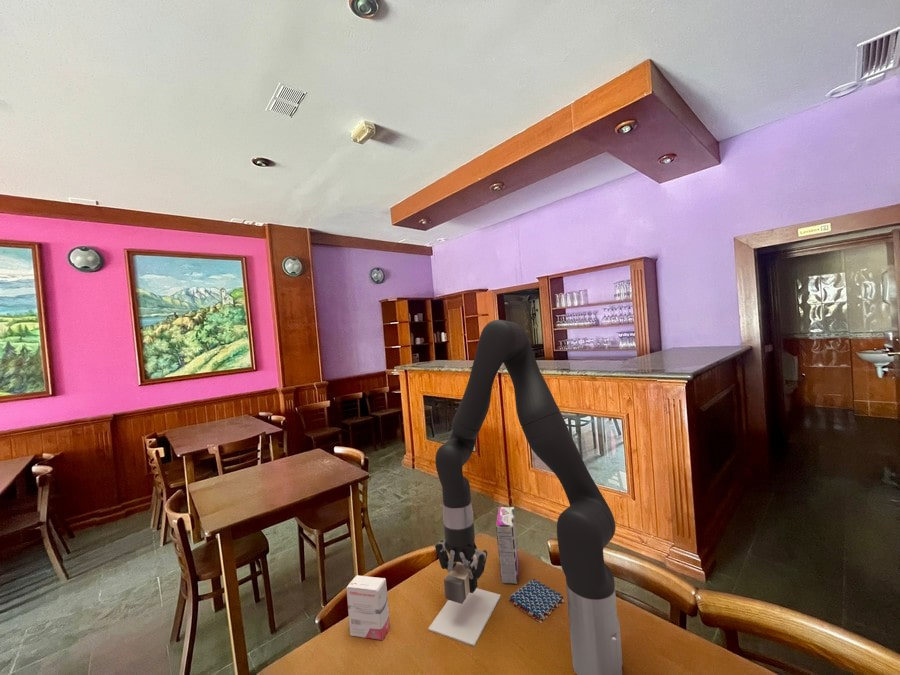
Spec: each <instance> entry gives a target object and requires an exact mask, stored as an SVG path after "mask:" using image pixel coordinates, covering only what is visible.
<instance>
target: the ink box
mask: <svg viewBox="0 0 900 675" xmlns="http://www.w3.org/2000/svg"><path fill="white" fill-rule="evenodd" d="M387 587H388V586H387V578H385V577H374V576H366V575H355V576H354V577H353V579H352V580H350V582H349V583H348V585H347V586H346V600H347V612H348V613H347V614H348V624H349V635H350V637H358V638H366V639H372V640H378V641H382V640H384V638H385V637H386V635H387V633H388V632H389V629H390V627H391V621H390V620H391V619H390V611H389V609H390V608H389V598H388V589H387Z"/></svg>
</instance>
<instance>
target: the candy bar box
mask: <svg viewBox="0 0 900 675" xmlns="http://www.w3.org/2000/svg"><path fill="white" fill-rule="evenodd" d="M495 529H496V540H497V549H498V559H499V561H498V562H499V571H500V572H499V573H500V582H501V584H505V585H507V584H508V585H509V584H510V585H518V584H519V567H520V566H519V564H520V562H519V561H520V558H519V549H518V548H519V547H518V536H517V527H516V516H515V507H514V506H498V510H497V517H496V524H495ZM517 550H518V551H517Z"/></svg>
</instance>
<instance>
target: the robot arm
mask: <svg viewBox="0 0 900 675" xmlns="http://www.w3.org/2000/svg"><path fill="white" fill-rule="evenodd" d="M475 350H476V351H475V355H474V358H473V363H472V367H471V371H470V372H469V373H470V374H469V377H468V381H467V385H466V387H465V390H464V393H463V395H462V398H461V400H460V403H459V405H458V407H457V409H456V411H455V415H454V417H453V420H452V422H451V430H452V432H451V434H450V437H449V439H448V440H447V441H446V442H445V443H443V444H442V445H440V446H439V448H438V449H437V451H436V453H435V461H434V463H435V464H434V465H435V469H436V473H437V476H438V478H439V482H440V485H441V488H442V489H441V492H442V504H443V506H442V507H443V508H442V518H443V531H444V541H443V540H440V541H439V542H438V543H437V544H436V545H435V551H436V555H437V557H438V558H437V559H438V561H439V564H440V568H442V569H443V570H447V571H446V572H447V573H448V574H449V573H450V572H451V570H452V569H453V568H454V567H455V565H456V564H457V563H458V562H461V563H462V564H464V567H465V570H467V572H468V575H469V587H470V593H473V592H474V591H475V590H476V588H478V580H477V578H479V579H480V578H481V577H482V574H483V573H484V571H485V567H486V561H487V557H488V551H487V550H485V549H484V550H480V549H478V547H477V545H476V541H475V539H476V537H475V536H476V535H475V524H474V521H475V520H474V511H473V505H472V496H471V495H472V494H471V486H470V481H469V479H468V478H467V477H466V476H464V472H463V466H465V464H467V463H468V461H469V460H470V458H471V456H472V454H473V452H474V450H475V446H476V441H477V438H478V435H479V433H480V431H481V429H482V427H483V424H484V422H485V420H486V418H487V414H488V413H489V409H490V405H491V399H492V390H493V386H494V381H495V379H496V376H497V374H498V372H499V370H500V368H501V367H502V365H504V367H505V368H506V370H507V371H506V372H508V373H507V374H508V376H510V380H511V382H512V386H513V389H514V390H513V391H514V401H515V408H516V415H517V418H518V422H519V424H520V426H521V429H522V432H523V434H524V436H525V439H526V441H527V443H528V446H529V447H530V449H531V450H532V452H533V453H534V454H535V456H536V457H538V458H539V460H540V461H541V462H542V463H543V464H545V465H546V466H547V467H548V468H549V469H550V470H551V471H552V472H553V474H554V475H555V476H556V477H557V479H558V480H559V482H560V484H561V486H562V488H563V491H564V493H565V496H566V498H567V500H568V504H569V506H568V507H566V508H565V509H564V510H563V511H562V512H560V514H559V515H558V517H557V521H556V538H557V545H558V547H557V548H558V554H559V561H560V567H561V569H562V572H563V574H564V576H565V584H566V596H567V599H566V600H567V607H568V608H567V609H568V611H567V612H568V623H569V624H568V625H569V635H570V647H571V659H572V661H571V663H572V669H573V671H574V673H576V674H577V675H623V669H622V665H624V664H623V653H622V652H623V651H622V640H621V628H620V627H621V626H620V619H619V618H618V610H617V598H616V584H615V583H616V582H615V576H614V572H613V571H612V569H611V568H610V567H609V566H608V565H607V564H606V563H605V558H604V549H605V547H606V546H607V545H608V544H609V543H610V542H611V540H612V539H613V538H614V536H615V533H616V528H617V527H616V520H615V517H614V514H613V512H612V510H611V508H610V506H609V504H608V502H607V500H606V498H605V497H604V495H603V494H602V492H601V491H600V489H599V487H598V486H597V484H596V482H595V481H594V479H593V477H592V476H591V473H590V472H589V469H587V466H586V464H585V462H584V459H583V458H582V457H583V456H581V454H580V452H579V449H578V447H577V445H576V443H575V441H574V438H573V437H572V434H571V433H570V429H569V428H568V425H567V423H566V420H565V418H564V416H563V414H562V411H561V410H560V408H559V406H558V404H557V403H556V402H557V401H556V400H555V398H554V397H553V393H552V392H551V390H550V388H549V386H548V384H547V382H546V380H545V378H544V376H543V374H542V372H541V370H540V367H539V365H538V363H537V360H536V357H535V354H534V351H533V348H532V344H531V342H530V340H529V336H528V334H527V332H526V330H525V329H524V328H523V327H522V326H521V325H520V324H518V323H516V322H514V321H508V320H504V319H494V320H491V321H490V322H488V323H487V324H486V325H485V326H483V328H482V330H481V332H480V335H479V339H478V342H477V347H476V349H475ZM448 554H449V555H448ZM474 554H475V555H476V557H477V561H478V564H477V569H476V566H475V559H474ZM576 674H575V675H576Z"/></svg>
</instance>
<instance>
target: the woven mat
mask: <svg viewBox="0 0 900 675" xmlns="http://www.w3.org/2000/svg"><path fill="white" fill-rule="evenodd" d="M550 588H551V586H546V584H545V583H541V581H539V580H538V581H537V580H536V578H533V579H532V580H528V583H525V584H524V585H523V586H521V588H518V589H517V590H516V592H515V591H514V592H513V593H512V594H510V597H509V599H508V602H509V603H510V604H512V605H513V607H517V609H519V610H520V611H522V612H524V613H525V614H526V615H527V616H529V617H530V618H532V619H533V620H535V621H537V622H539V623H540V624H542V623H543V621H544V620H545V619H548V617H549V616H550V615H551V613H553V611H555V609H556V608H558V607H561V606H562V605H561V604H563V603H564V602H565V600H564V596H563V595H561V593H560V592H556V590H555V589H550ZM542 620H543V621H542Z"/></svg>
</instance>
